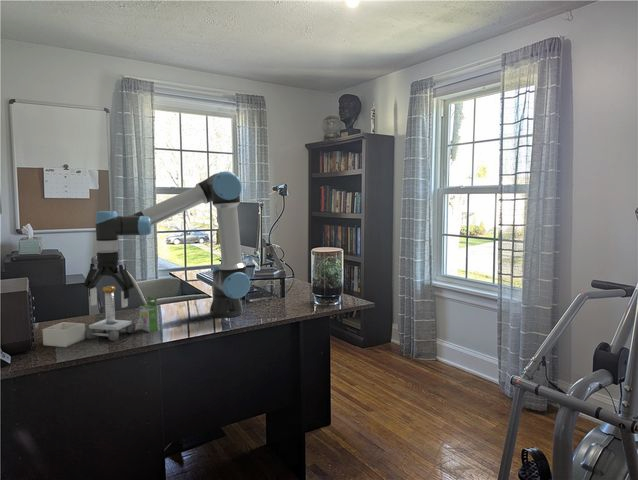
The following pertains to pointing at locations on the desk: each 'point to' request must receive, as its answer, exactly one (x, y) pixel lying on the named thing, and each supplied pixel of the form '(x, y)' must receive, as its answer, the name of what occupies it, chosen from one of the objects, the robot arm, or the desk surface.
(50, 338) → the tray
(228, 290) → the robot arm
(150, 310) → the ink box
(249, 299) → the desk surface
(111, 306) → the orange capped clear tube
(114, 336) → the cart
